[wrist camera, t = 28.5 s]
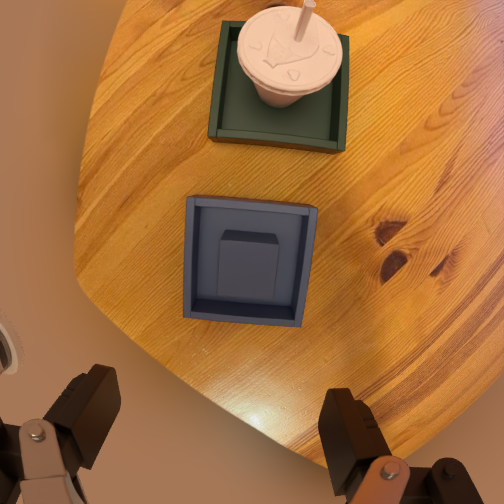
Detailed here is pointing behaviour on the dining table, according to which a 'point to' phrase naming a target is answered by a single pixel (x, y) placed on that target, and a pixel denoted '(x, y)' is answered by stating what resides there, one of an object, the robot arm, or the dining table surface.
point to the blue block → (247, 264)
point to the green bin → (270, 118)
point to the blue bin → (252, 220)
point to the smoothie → (288, 53)
